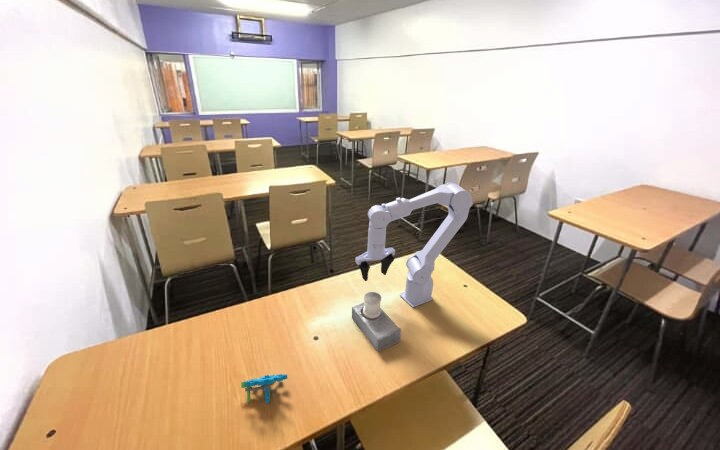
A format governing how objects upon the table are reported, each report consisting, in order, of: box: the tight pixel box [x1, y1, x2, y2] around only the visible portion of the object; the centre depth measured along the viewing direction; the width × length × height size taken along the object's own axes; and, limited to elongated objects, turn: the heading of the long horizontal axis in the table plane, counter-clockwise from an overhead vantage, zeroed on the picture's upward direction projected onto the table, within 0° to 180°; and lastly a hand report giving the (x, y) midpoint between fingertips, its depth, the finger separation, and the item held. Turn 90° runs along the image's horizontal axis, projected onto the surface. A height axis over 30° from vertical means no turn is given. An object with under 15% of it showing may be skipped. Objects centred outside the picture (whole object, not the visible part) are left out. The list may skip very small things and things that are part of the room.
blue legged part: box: [240, 373, 288, 404], centre depth 73 cm, size 11×6×10 cm
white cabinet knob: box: [363, 291, 382, 319], centre depth 94 cm, size 6×6×6 cm
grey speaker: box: [351, 302, 402, 352], centre depth 94 cm, size 8×16×5 cm, turn 30°
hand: (374, 276), depth 104 cm, fingers open, 7 cm apart
